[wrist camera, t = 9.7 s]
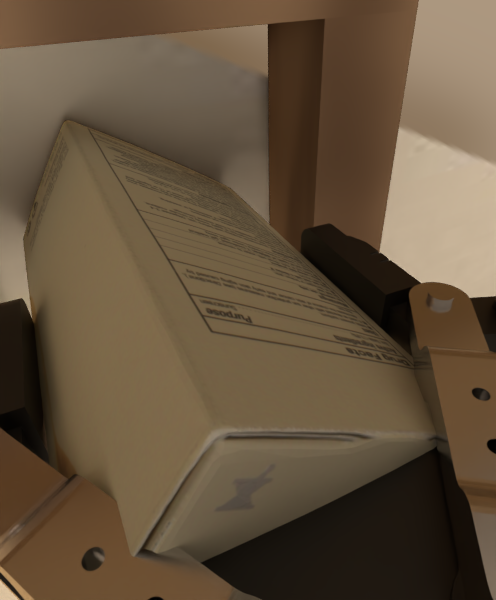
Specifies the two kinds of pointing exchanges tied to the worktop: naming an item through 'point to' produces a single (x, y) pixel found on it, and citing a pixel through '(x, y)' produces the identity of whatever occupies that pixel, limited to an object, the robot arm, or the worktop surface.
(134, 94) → the worktop surface
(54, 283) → the skincare box
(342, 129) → the brown square open frame
